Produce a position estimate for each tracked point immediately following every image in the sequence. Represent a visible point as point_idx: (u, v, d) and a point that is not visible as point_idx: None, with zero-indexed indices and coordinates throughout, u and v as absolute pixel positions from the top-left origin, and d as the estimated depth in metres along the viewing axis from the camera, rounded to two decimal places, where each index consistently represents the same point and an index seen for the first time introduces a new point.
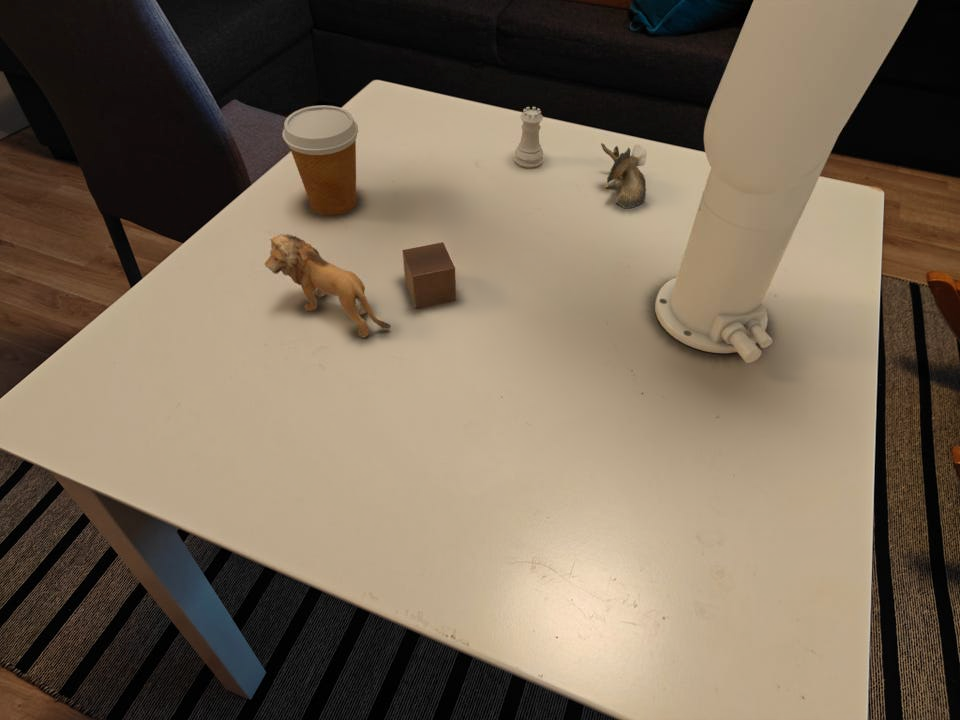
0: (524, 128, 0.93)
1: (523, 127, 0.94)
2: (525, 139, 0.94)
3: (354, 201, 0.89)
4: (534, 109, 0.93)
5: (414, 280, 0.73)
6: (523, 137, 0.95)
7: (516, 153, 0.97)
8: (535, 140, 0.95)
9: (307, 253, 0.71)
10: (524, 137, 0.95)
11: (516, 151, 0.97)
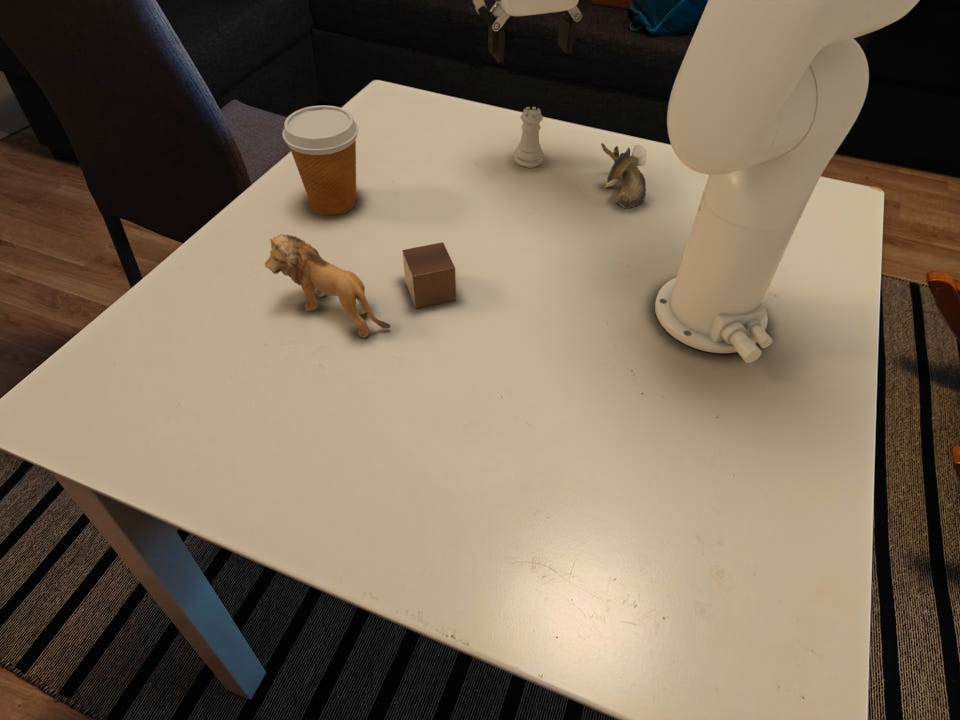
0: (524, 128, 0.93)
1: (523, 127, 0.94)
2: (525, 139, 0.94)
3: (354, 201, 0.89)
4: (534, 109, 0.93)
5: (414, 280, 0.73)
6: (523, 137, 0.95)
7: (516, 153, 0.97)
8: (535, 140, 0.95)
9: (307, 253, 0.71)
10: (524, 137, 0.95)
11: (516, 151, 0.97)
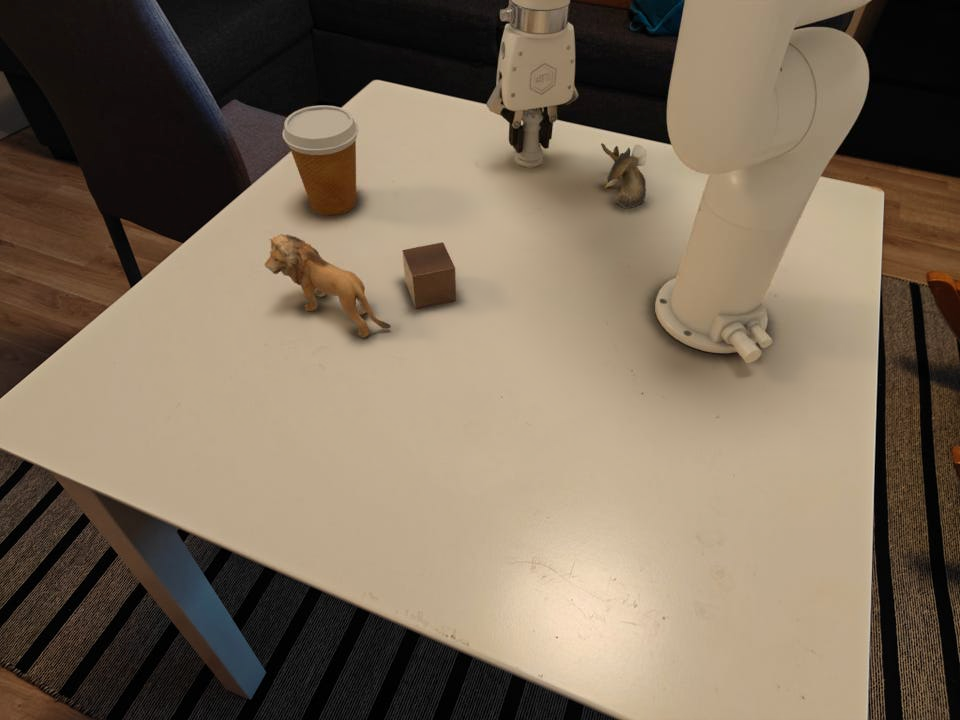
0: (524, 128, 0.93)
1: (523, 127, 0.94)
2: (525, 139, 0.94)
3: (354, 201, 0.89)
4: (534, 109, 0.93)
5: (414, 280, 0.73)
6: (523, 137, 0.95)
7: (516, 153, 0.97)
8: (535, 140, 0.95)
9: (307, 253, 0.71)
10: (524, 137, 0.95)
11: None
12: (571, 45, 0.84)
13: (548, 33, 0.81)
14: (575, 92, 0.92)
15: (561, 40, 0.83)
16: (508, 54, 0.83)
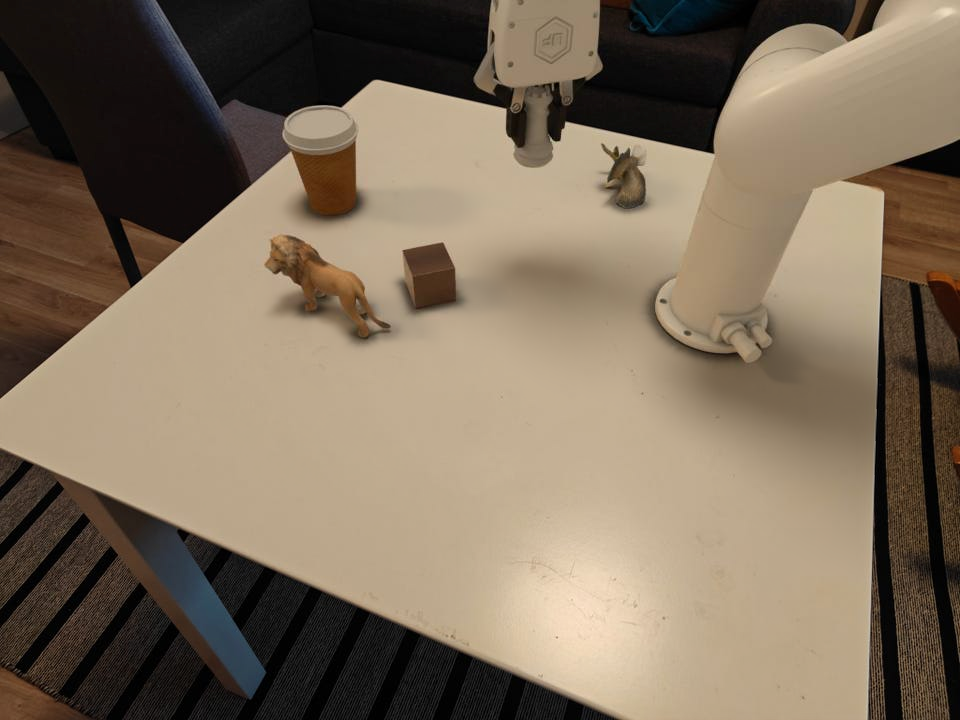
0: (527, 113, 0.67)
1: (525, 111, 0.68)
2: (529, 128, 0.68)
3: (354, 201, 0.89)
4: (541, 86, 0.67)
5: (414, 280, 0.73)
6: None
7: (516, 148, 0.71)
8: (543, 130, 0.69)
9: (307, 254, 0.71)
10: (527, 125, 0.68)
11: None
12: None
13: None
14: (598, 63, 0.66)
15: None
16: (503, 3, 0.57)
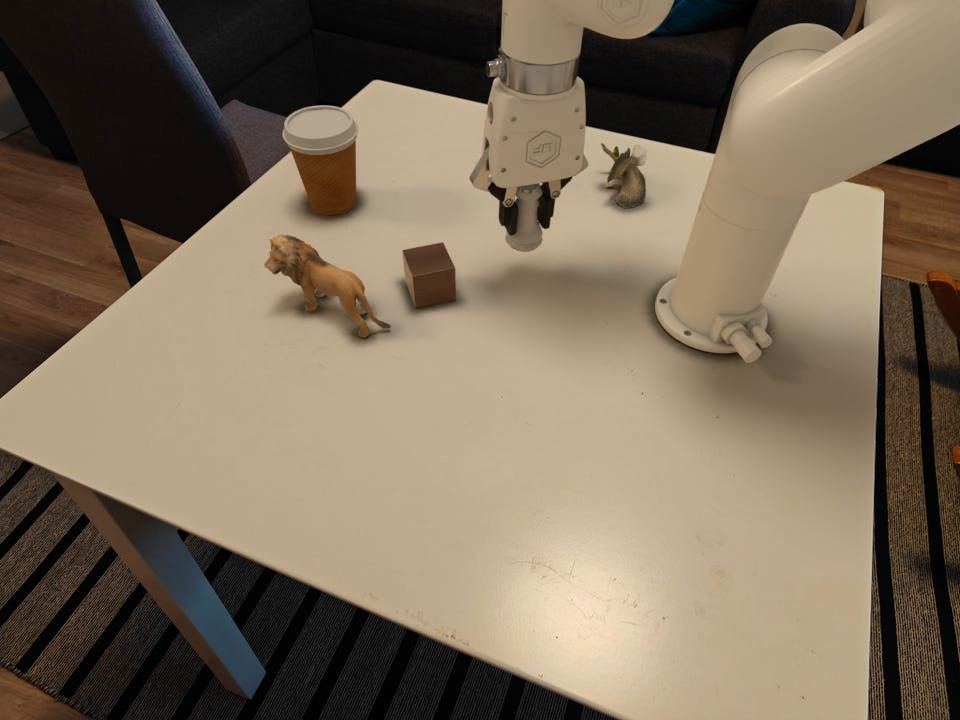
0: (518, 205, 0.73)
1: (517, 203, 0.73)
2: (520, 218, 0.74)
3: (354, 201, 0.89)
4: None
5: (414, 280, 0.73)
6: None
7: (508, 233, 0.76)
8: (533, 219, 0.74)
9: (306, 254, 0.71)
10: (518, 215, 0.74)
11: None
12: (581, 107, 0.64)
13: (551, 94, 0.60)
14: (584, 161, 0.71)
15: (568, 101, 0.63)
16: (497, 119, 0.63)
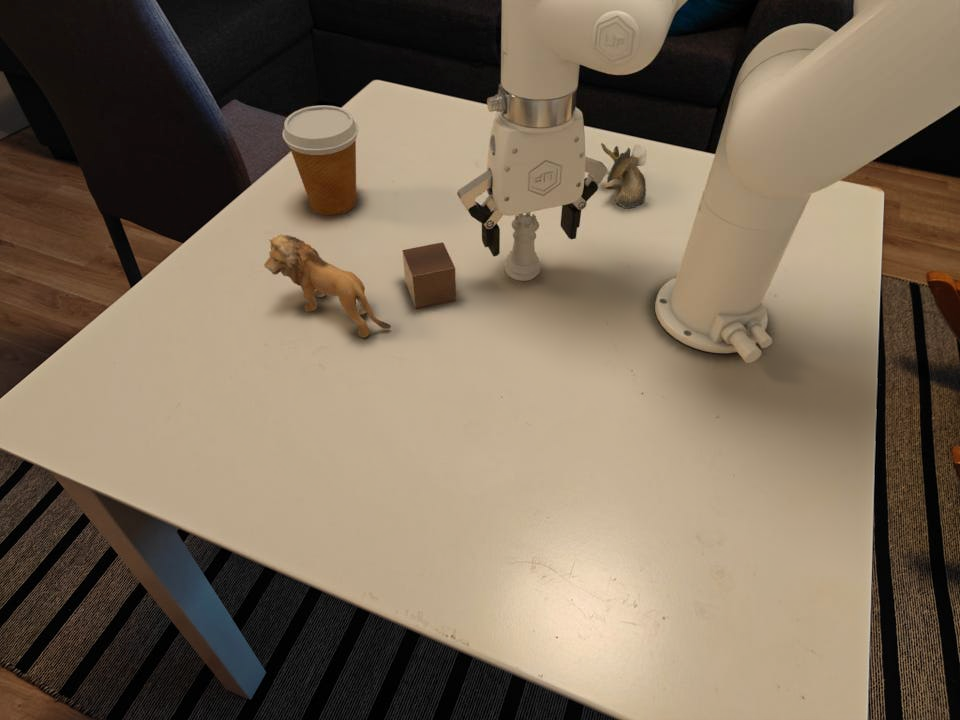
0: (516, 238, 0.76)
1: (515, 236, 0.76)
2: (518, 250, 0.77)
3: (354, 201, 0.89)
4: (528, 215, 0.76)
5: (414, 280, 0.73)
6: (515, 247, 0.77)
7: (507, 264, 0.79)
8: (530, 251, 0.77)
9: (306, 254, 0.71)
10: (516, 247, 0.77)
11: (507, 261, 0.79)
12: (580, 137, 0.66)
13: (550, 127, 0.63)
14: (601, 168, 0.72)
15: (567, 131, 0.65)
16: (499, 151, 0.65)
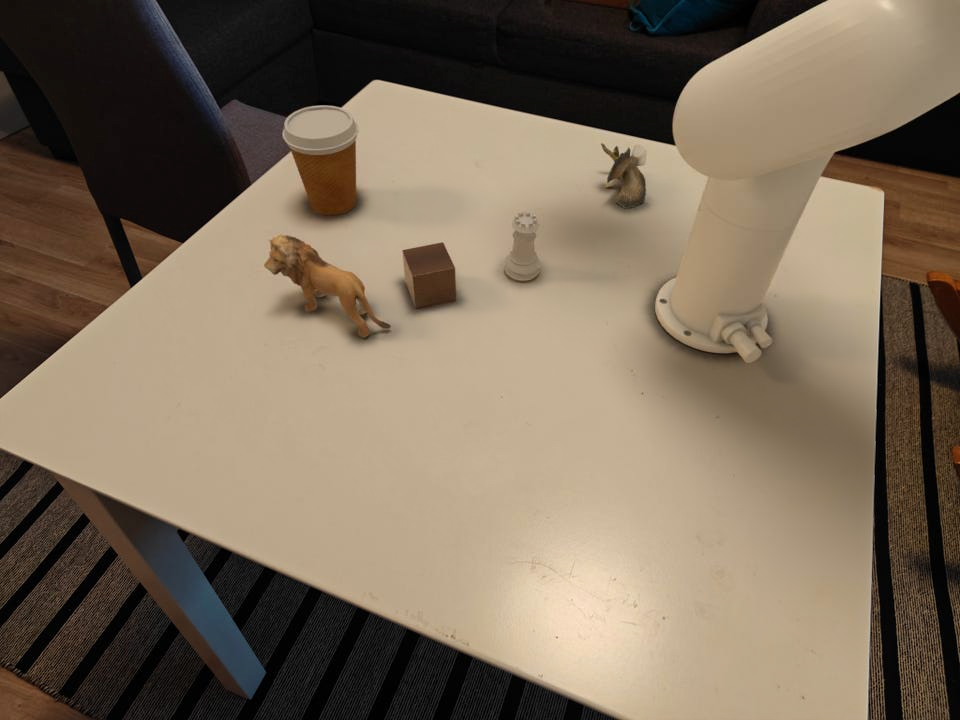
0: (516, 238, 0.76)
1: (515, 236, 0.76)
2: (518, 250, 0.77)
3: (354, 201, 0.89)
4: (528, 215, 0.76)
5: (414, 280, 0.73)
6: (515, 247, 0.77)
7: (507, 264, 0.79)
8: (530, 251, 0.77)
9: (306, 254, 0.71)
10: (516, 247, 0.77)
11: (507, 261, 0.79)
12: None
13: None
14: None
15: None
16: None
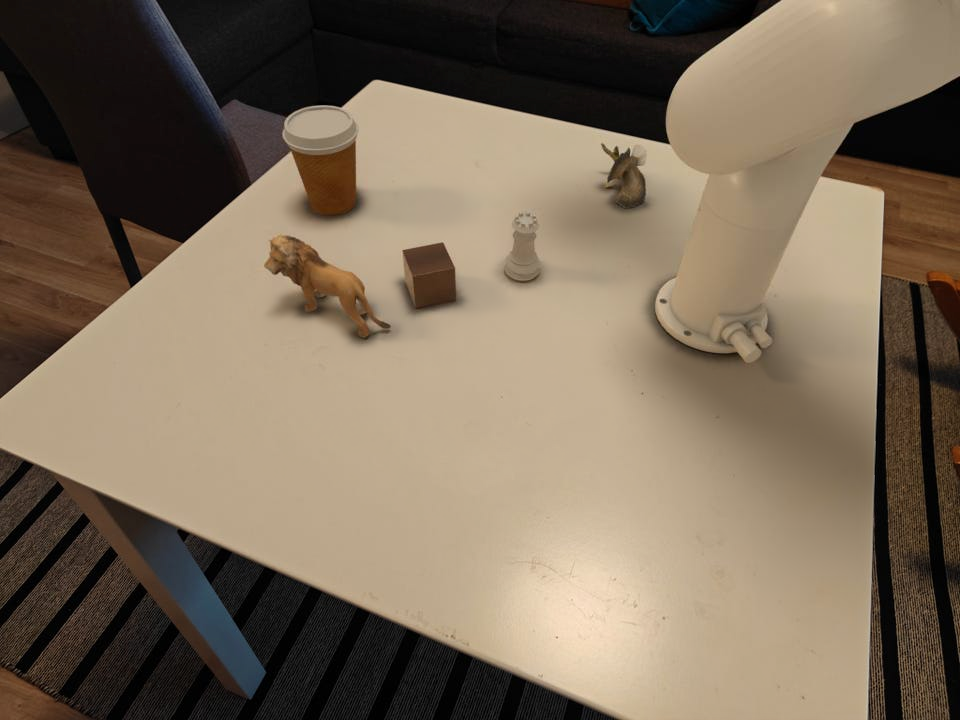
0: (516, 238, 0.76)
1: (515, 236, 0.76)
2: (518, 250, 0.77)
3: (354, 201, 0.89)
4: (528, 215, 0.76)
5: (414, 280, 0.73)
6: (515, 247, 0.77)
7: (507, 264, 0.79)
8: (530, 251, 0.77)
9: (306, 254, 0.71)
10: (516, 247, 0.77)
11: (507, 261, 0.79)
12: None
13: None
14: None
15: None
16: None
